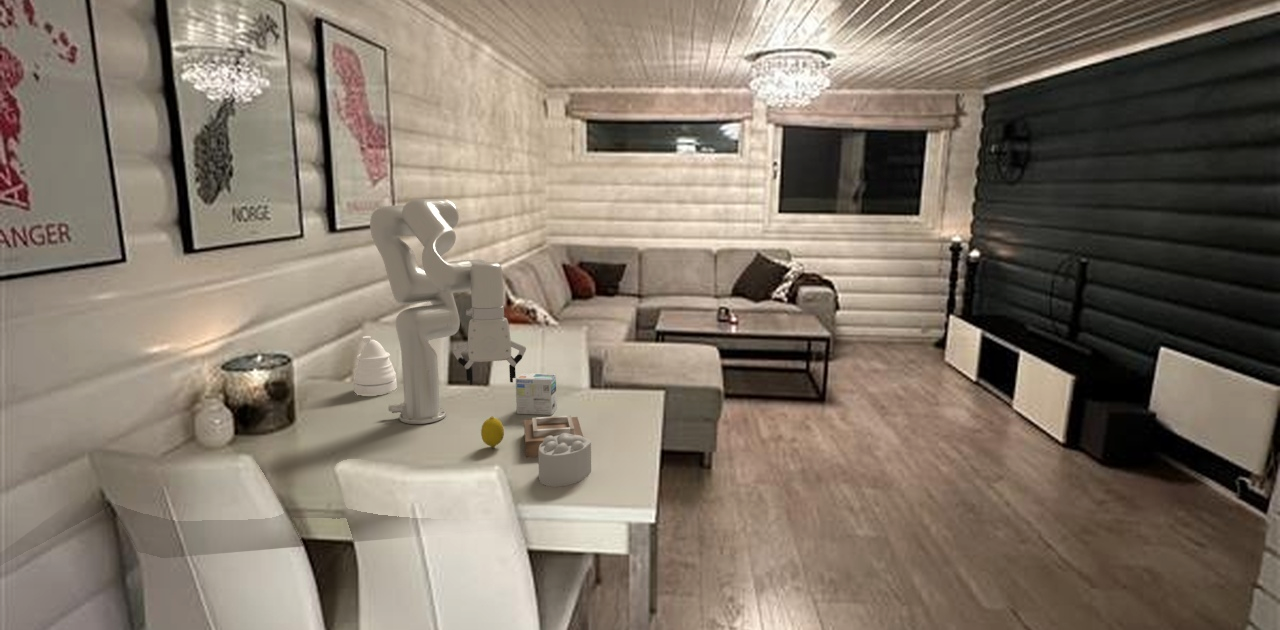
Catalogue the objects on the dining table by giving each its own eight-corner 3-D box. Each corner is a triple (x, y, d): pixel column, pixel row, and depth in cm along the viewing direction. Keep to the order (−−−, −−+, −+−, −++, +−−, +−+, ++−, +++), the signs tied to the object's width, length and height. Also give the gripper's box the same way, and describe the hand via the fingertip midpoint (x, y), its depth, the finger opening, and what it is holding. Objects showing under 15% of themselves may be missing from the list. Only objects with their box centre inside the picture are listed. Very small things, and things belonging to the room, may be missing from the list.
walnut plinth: (526, 457, 167) (525, 435, 166) (524, 434, 182) (524, 414, 181) (583, 453, 170) (583, 432, 169) (577, 431, 185) (577, 411, 184)
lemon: (508, 445, 175) (507, 414, 174) (497, 452, 170) (495, 421, 168) (489, 442, 177) (488, 412, 175) (477, 450, 172) (476, 419, 170)
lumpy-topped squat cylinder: (596, 469, 161) (596, 433, 159) (568, 490, 149) (567, 452, 147) (558, 461, 165) (558, 426, 163) (527, 482, 153) (526, 445, 152)
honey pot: (371, 399, 213) (367, 342, 209) (345, 392, 220) (341, 337, 216) (405, 389, 223) (402, 334, 220) (380, 383, 230) (376, 330, 227)
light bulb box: (557, 408, 204) (556, 373, 202) (552, 415, 198) (551, 379, 196) (522, 407, 205) (521, 372, 203) (515, 414, 199) (514, 378, 197)
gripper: (450, 317, 162) (454, 388, 165) (524, 314, 165) (527, 384, 168) (452, 312, 169) (456, 380, 172) (524, 309, 172) (526, 376, 175)
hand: (491, 382), depth 170 cm, fingers open, 9 cm apart
